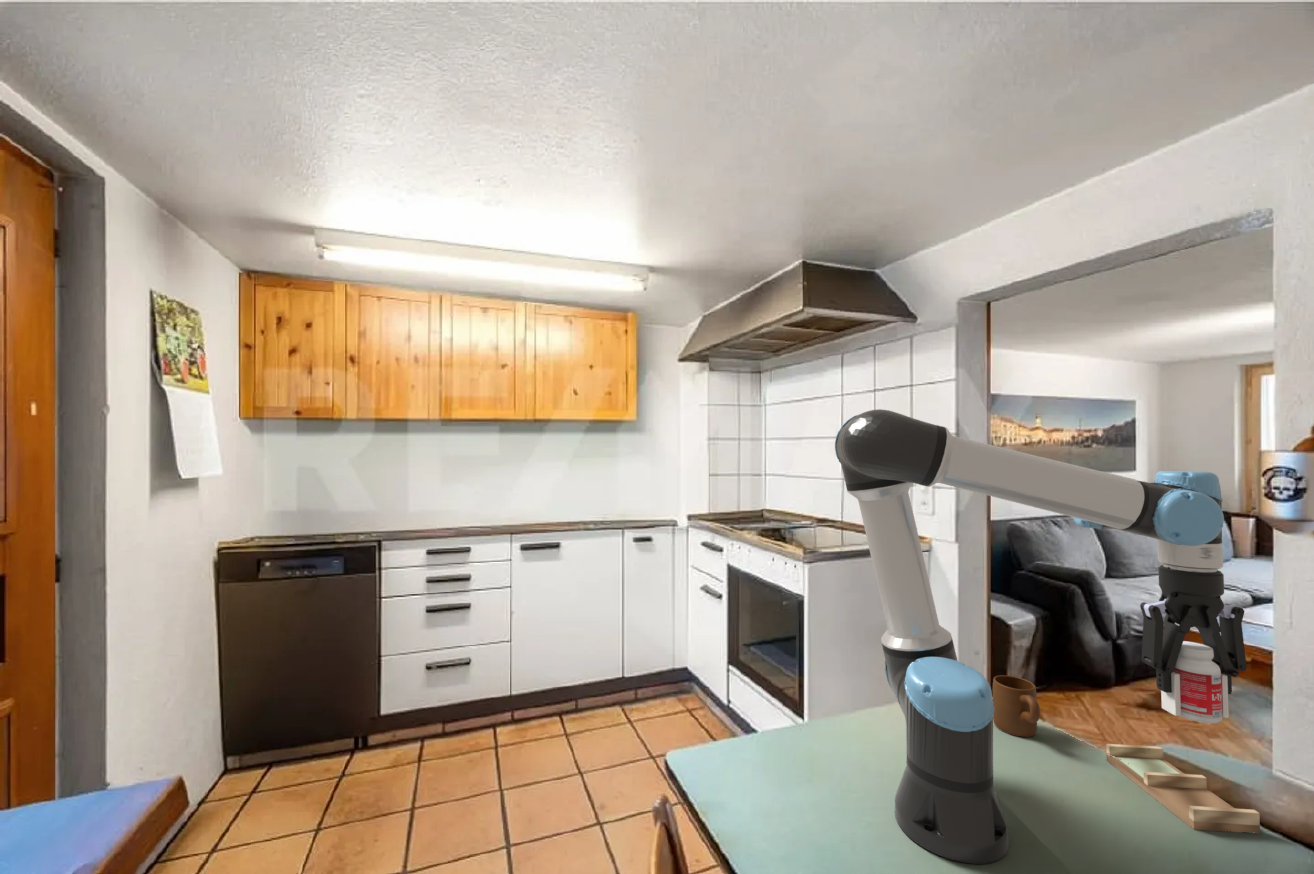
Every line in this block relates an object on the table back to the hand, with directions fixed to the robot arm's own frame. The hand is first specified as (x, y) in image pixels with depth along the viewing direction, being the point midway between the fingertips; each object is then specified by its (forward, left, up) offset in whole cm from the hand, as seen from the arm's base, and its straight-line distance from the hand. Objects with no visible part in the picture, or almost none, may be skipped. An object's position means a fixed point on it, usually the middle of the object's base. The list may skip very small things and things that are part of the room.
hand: (1194, 712), depth 87 cm
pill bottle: (0, 0, -1) cm, 1 cm away
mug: (-15, +22, -16) cm, 31 cm away
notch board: (0, +4, -15) cm, 16 cm away
